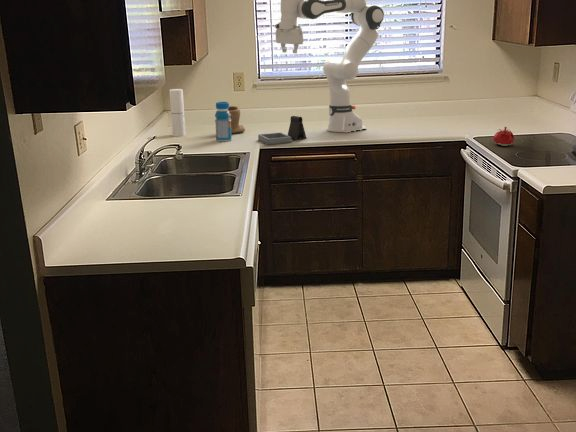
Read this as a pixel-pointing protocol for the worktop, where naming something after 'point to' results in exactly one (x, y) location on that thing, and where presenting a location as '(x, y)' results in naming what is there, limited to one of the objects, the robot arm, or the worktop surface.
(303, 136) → the door stopper
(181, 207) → the worktop surface
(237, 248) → the worktop surface
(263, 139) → the tray
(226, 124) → the beverage bottle
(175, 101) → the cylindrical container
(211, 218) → the worktop surface
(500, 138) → the pomegranate
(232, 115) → the tan boot
